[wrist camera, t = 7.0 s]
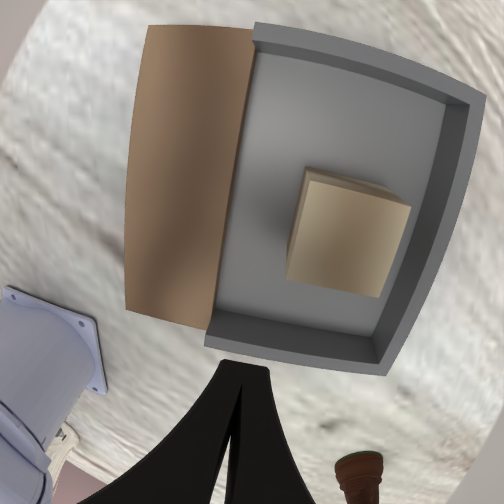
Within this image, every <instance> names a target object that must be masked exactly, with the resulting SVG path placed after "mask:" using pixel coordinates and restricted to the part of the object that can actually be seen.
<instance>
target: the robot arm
mask: <svg viewBox="0 0 504 504" xmlns="http://www.w3.org/2000/svg"><path fill="white" fill-rule="evenodd" d="M2 292H3V296H4V299H2V300H1V301H0V504H52V500H53V479H52V476H51V474H50V472H49V471H48V470H47V469H48V467H49V465H50V464H51V462H52V460H51V459H50V458H49V457H48V456H47V455H46V454H45V452H46V451H47V449H48V447H49V446H50V444H51V442H52V440H53V439H54V437H55V436H56V434H57V432H58V431H59V429H60V427H61V426H62V424H63V422H64V421H65V419H66V418H67V416H68V414H69V413H70V411H71V410H72V408H73V406H74V405H75V403H76V402H77V400H78V399H79V397H80V395H81V394H82V392H83V391H84V389H85V388H86V389H88V390H91V391H93V392H96V393H98V394H101V395H105V394H106V393H107V387H106V382H105V377H104V372H103V367H102V361H101V356H100V350H99V343H98V337H97V330H96V324H95V322H94V321H93V320H92V319H91V318H89V317H86V316H83V315H80V314H77V313H74V312H72V311H69V310H66V309H63V308H60V307H58V306H55V305H52V304H50V303H47V302H45V301H42V300H39V299H37V298H34V297H32V296H29V295H27V294H24V293H22V292H19V291H17V290H15V289H12V288H10V287H8V286H5V287H4V288H3V289H2ZM230 435H231V438H230ZM229 439H230V449H229V460H228V472H227V483H226V495H225V502H224V504H316V503H315V502H314V500H313V498H312V496H311V494H310V493H309V491H308V489H307V487H306V485H305V483H304V481H303V479H302V477H301V475H300V473H299V471H298V468H297V466H296V464H295V461H294V459H293V457H292V454H291V452H290V449H289V446H288V444H287V441H286V438H285V435H284V433H283V429H282V426H281V423H280V420H279V416H278V413H277V409H276V405H275V401H274V397H273V392H272V387H271V380H270V370H269V369H268V368H267V367H264V366H259V365H253V364H248V363H243V362H237V361H232V360H227V359H224V360H221V361H220V363H219V365H218V368H217V370H216V371H215V373H214V375H213V377H212V379H211V380H210V382H209V383H208V385H207V386H206V388H205V389H204V391H203V392H202V394H201V395H200V396H199V398H198V399H197V400H196V402H195V403H194V404H193V406H192V407H191V408H190V410H189V411H188V412H187V413H186V415H185V416H184V417H183V418H182V419H181V420H180V421H179V423H178V424H177V425H176V426H175V427H174V428H173V429H172V430H171V432H170V433H169V434H168V435H167V436H166V437H165V438H164V439H163V440H162V441H161V442H160V443H159V444H158V445H157V446H156V447H155V448H154V449H153V450H151V451H150V452H149V453H148V454H147V455H146V456H145V457H144V458H143V459H141V460H140V461H139V462H138V463H136V464H135V465H134V466H133V467H132V468H130V469H129V470H128V471H127V472H125V473H124V474H123V475H121V476H120V477H119V478H117V479H116V480H114V481H113V482H111V483H110V484H108V485H107V486H106V487H104V488H102V489H101V490H99V491H98V492H96V493H94V494H93V495H91V496H89V497H88V498H86V499H84V500H83V501H81V502H79V503H77V504H209V503H210V500H211V496H212V492H213V489H214V486H215V483H216V480H217V477H218V474H219V471H220V468H221V464H222V461H223V458H224V455H225V452H226V448H227V445H228V442H229Z"/></svg>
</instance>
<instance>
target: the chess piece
mask: <svg viewBox="0 0 504 504" xmlns="http://www.w3.org/2000/svg"><path fill="white" fill-rule="evenodd" d="M335 473H336V479H337V481H338V482H339V484H340V489H341V490H342V491H344V494H345V498H346V501H347V504H379V484H380V483H381V481H382V478H381V475H382V473H383V457H382V456H381V455H380V454H378V453H375V452H359V453H354V454H351V455H348V456H346V457H343V458H342V459H340V460H339V461H338V462H337V463H336V465H335Z"/></svg>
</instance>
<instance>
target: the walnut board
mask: <svg viewBox="0 0 504 504" xmlns="http://www.w3.org/2000/svg"><path fill="white" fill-rule="evenodd" d="M252 35H253V30H250V29H241V28H230V27H217V26H200V25H148V30H147V34H146V39H145V44H144V49H143V54H142V59H141V65H140V71H139V76H138V83H137V89H136V96H135V103H134V110H133V118H132V126H131V135H130V145H129V156H128V168H127V182H126V201H125V232H124V272H125V303H126V310H129V311H133V312H136V313H140V314H143V315H147V316H151V317H155V318H158V319H162V320H166V321H170V322H174V323H178V324H182V325H186V326H190V327H194V328H198V329H202V330H207V328H208V326H209V323H210V320H211V318H212V315H213V313H214V310H215V305H216V298H217V291H218V284H219V277H220V270H221V263H222V256H223V250H224V243H225V237H226V230H227V224H228V217H229V211H230V205H231V198H232V192H233V186H234V180H235V174H236V168H237V162H238V156H239V150H240V144H241V139H242V133H243V127H244V122H245V116H246V111H247V105H248V100H249V94H250V89H251V83H252V78H253V73H254V68H255V62H256V57H257V50H256V48H255V46H254V44H253V42H252Z"/></svg>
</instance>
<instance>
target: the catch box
mask: <svg viewBox="0 0 504 504" xmlns="http://www.w3.org/2000/svg"><path fill="white" fill-rule="evenodd" d="M252 42H253V44H254V46H255V48H256V50H257V57H256V62H255V68H254V73H253V78H252V83H251V89H250V94H249V100H248V105H247V111H246V116H245V122H244V127H243V133H242V139H241V144H240V150H239V156H238V162H237V168H236V174H235V180H234V186H233V192H232V198H231V205H230V211H229V217H228V224H227V230H226V237H225V243H224V250H223V256H222V263H221V270H220V277H219V284H218V291H217V298H216V305H215V310H214V313H213V315H212V318H211V320H210V323H209V326H208V328H207V331H206V334H205V341H204V346H206V347H210V348H214V349H219V350H223V351H228V352H232V353H237V354H242V355H247V356H252V357H257V358H262V359H267V360H273V361H278V362H284V363H290V364H296V365H302V366H308V367H315V368H321V369H328V370H336V371H343V372H351V373H360V374H369V375H378V376H386V375H387V373H388V372H389V370H390V368H391V366H392V365H393V363H394V361H395V359H396V357H397V356H398V354H399V352H400V350H401V348H402V346H403V344H404V343H405V341H406V339H407V337H408V335H409V333H410V331H411V329H412V327H413V325H414V323H415V321H416V319H417V317H418V315H419V313H420V310H421V308H422V306H423V304H424V302H425V300H426V297H427V295H428V293H429V291H430V288H431V286H432V284H433V281H434V279H435V277H436V274H437V272H438V269H439V267H440V265H441V262H442V259H443V257H444V254H445V252H446V249H447V246H448V244H449V241H450V238H451V235H452V233H453V230H454V227H455V224H456V221H457V218H458V215H459V212H460V209H461V205H462V202H463V199H464V195H465V192H466V188H467V185H468V181H469V178H470V174H471V170H472V166H473V162H474V158H475V154H476V149H477V145H478V140H479V135H480V130H481V125H482V120H483V114H484V108H485V102H486V95H485V94H483V93H482V92H480V91H478V90H476V89H474V88H472V87H470V86H468V85H466V84H464V83H462V82H460V81H458V80H456V79H454V78H452V77H449V76H447V75H445V74H443V73H440V72H438V71H436V70H434V69H431V68H429V67H426V66H424V65H422V64H419V63H416V62H414V61H411V60H409V59H406V58H403V57H401V56H398V55H395V54H392V53H389V52H386V51H383V50H380V49H377V48H374V47H371V46H367V45H364V44H361V43H357V42H354V41H350V40H346V39H342V38H339V37H335V36H330V35H326V34H322V33H317V32H313V31H308V30H303V29H298V28H292V27H286V26H280V25H274V24H267V23H259V22H255V25H254V30H253V35H252ZM305 166H306V167H310V168H315V169H319V170H323V171H327V172H331V173H335V174H339V175H343V176H347V177H351V178H355V179H359V180H363V181H366V182H370V183H373V184H377V185H381V186H384V187H387V188H388V189H389V190H390V191H392V192H393V193H394V194H396V195H397V196H398V197H400V198H401V199H402V200H403V201H405V202H406V203H407V204H408V205H410V206H411V210H410V213H409V216H408V219H407V222H406V225H405V228H404V231H403V234H402V237H401V240H400V243H399V246H398V249H397V252H396V254H395V257H394V260H393V263H392V265H391V268H390V271H389V273H388V276H387V279H386V281H385V284H384V286H383V289H382V291H381V294H380V296H379V298H376V297H371V296H366V295H360V294H355V293H350V292H345V291H340V290H335V289H330V288H325V287H320V286H315V285H310V284H305V283H300V282H295V281H290V280H286V252H287V242H288V238H289V234H290V230H291V225H292V221H293V217H294V213H295V208H296V204H297V200H298V195H299V191H300V186H301V182H302V178H303V173H304V169H305Z"/></svg>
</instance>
